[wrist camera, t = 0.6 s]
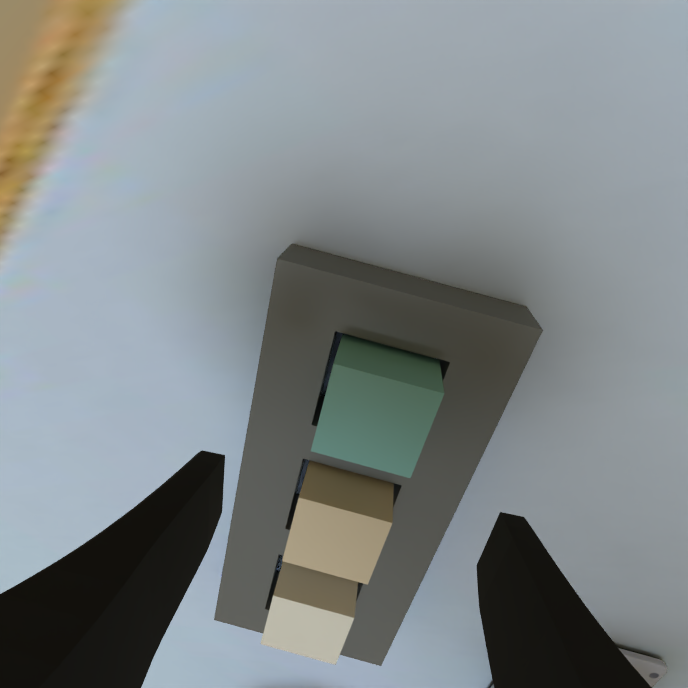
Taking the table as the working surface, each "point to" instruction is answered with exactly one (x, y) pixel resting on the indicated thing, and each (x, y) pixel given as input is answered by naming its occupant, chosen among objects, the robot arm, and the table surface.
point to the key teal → (378, 406)
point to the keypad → (409, 493)
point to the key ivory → (310, 613)
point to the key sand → (340, 522)
